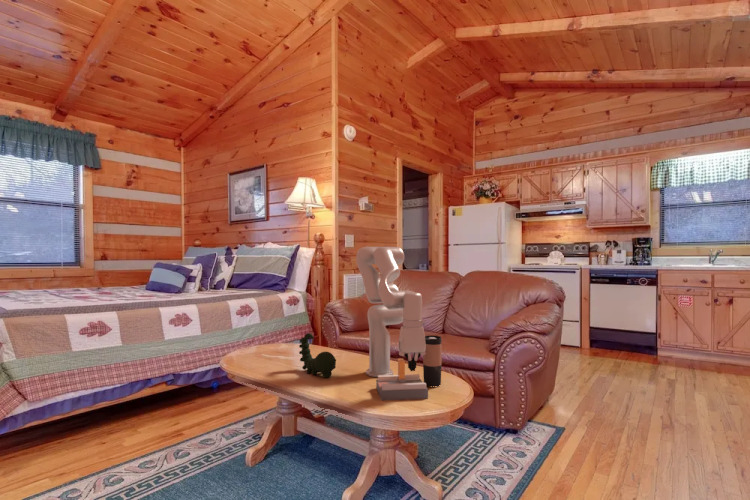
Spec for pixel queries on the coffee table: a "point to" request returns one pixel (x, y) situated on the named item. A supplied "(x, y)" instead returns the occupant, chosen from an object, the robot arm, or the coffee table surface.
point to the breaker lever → (401, 371)
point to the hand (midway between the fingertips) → (412, 370)
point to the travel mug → (432, 361)
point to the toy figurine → (316, 359)
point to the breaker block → (401, 387)
